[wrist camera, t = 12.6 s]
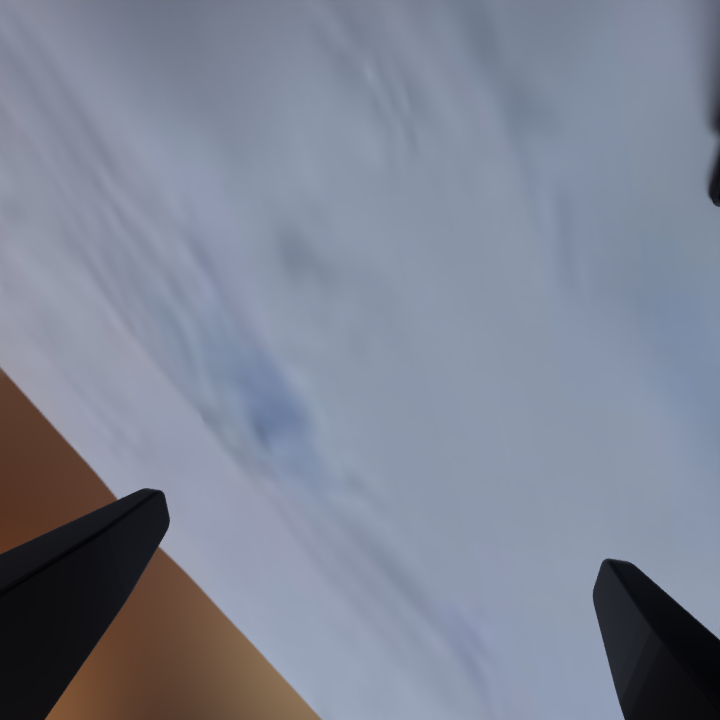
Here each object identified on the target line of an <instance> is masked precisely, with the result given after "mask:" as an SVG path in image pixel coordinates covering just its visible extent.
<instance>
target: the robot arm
mask: <svg viewBox="0 0 720 720" xmlns="http://www.w3.org/2000/svg"><path fill="white" fill-rule="evenodd" d="M712 201H713V204H715V205H716V206H718V207H720V170H719V174H718V177H717V180H716V183H715V186H714V189H713V193H712ZM169 523H170V517H169V512H168V508H167V503H166V498H165V495H164V493H163V492H162V491H160V490H156V489H149V488H144V489H141V490H139V491H137V492H134V493H132V494H130V495H128V496H126V497H123V498H121V499H119V500H117V501H115V502H113V503H111V504H108V505H106V506H104V507H102V508H100V509H97V510H96V511H93V512H91V513H89V514H87V515H84V516H83V517H80V518H78V519H76V520H74V521H71V522H69V523H67V524H65V525H63V526H61V527H58V528H56V529H54V530H52V531H50V532H48V533H46V534H43V535H41V536H39V537H37V538H35V539H32V540H30V541H28V542H26V543H24V544H21V545H19V546H17V547H15V548H13V549H11V550H9V551H6V552H4V553H2V554H0V720H45V718H46V717H47V716H48V714H49V713H50V711H51V710H52V708H53V707H54V705H55V704H56V703H57V701H58V700H59V698H60V697H61V695H62V694H63V692H64V691H65V690H66V688H67V686H68V685H69V684H70V682H71V681H72V679H73V678H74V676H75V675H76V674H77V672H78V671H79V669H80V668H81V666H82V665H83V663H84V662H85V660H86V659H87V658H88V656H89V655H90V653H91V652H92V650H93V649H94V647H95V646H96V645H97V643H98V642H99V640H100V639H101V637H102V636H103V634H104V633H105V631H106V630H107V629H108V627H109V625H110V624H111V623H112V621H113V620H114V618H115V617H116V616H117V614H118V613H119V611H120V610H121V608H122V606H123V605H124V604H125V602H126V601H127V599H128V597H129V596H130V594H131V592H132V591H133V589H134V587H135V586H136V584H137V582H138V580H139V579H140V577H141V575H142V573H143V572H144V570H145V568H146V567H147V565H148V563H149V561H150V559H151V558H152V556H153V554H154V552H155V550H156V549H157V547H158V546H159V544H160V542H161V540H162V539H163V537H164V535H165V533H166V532H167V530H168V527H169ZM593 602H594V607H595V611H596V615H597V619H598V623H599V626H600V630H601V634H602V638H603V642H604V646H605V650H606V654H607V658H608V662H609V666H610V670H611V674H612V677H613V681H614V685H615V689H616V693H617V696H618V700H619V703H620V706H621V710H622V713H623V716H624V719H625V720H720V640H719V639H718V638H717V637H716V636H715V635H714V634H713V633H711V632H710V631H709V630H708V629H707V628H706V627H705V626H703V625H702V624H701V623H700V622H699V621H698V620H697V619H695V618H694V617H693V616H692V615H691V614H690V613H689V612H688V611H686V610H685V609H684V608H683V607H682V606H681V605H680V604H678V603H677V602H676V601H675V600H674V599H673V598H672V597H670V596H669V595H668V594H667V593H666V592H665V591H664V590H662V589H661V588H660V587H659V586H658V585H657V584H656V583H654V582H653V581H652V580H651V579H650V578H649V577H648V576H646V575H645V574H644V573H643V572H642V571H641V570H640V569H639V568H637V567H636V566H635V565H634V564H632V563H630V562H628V561H622V560H615V559H605V560H604V561H603V562H602V564H601V567H600V570H599V573H598V576H597V580H596V583H595V586H594V589H593Z"/></svg>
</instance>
